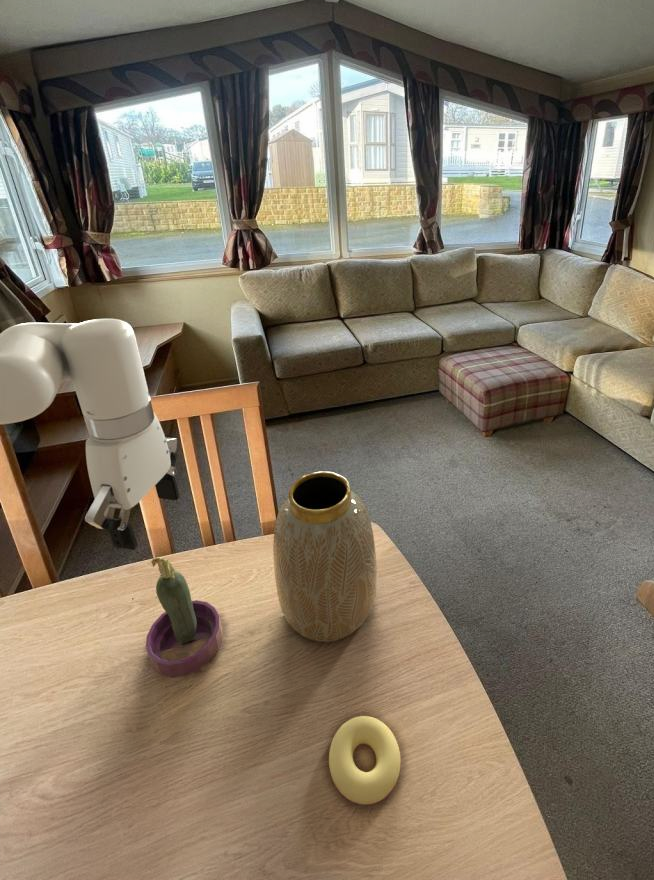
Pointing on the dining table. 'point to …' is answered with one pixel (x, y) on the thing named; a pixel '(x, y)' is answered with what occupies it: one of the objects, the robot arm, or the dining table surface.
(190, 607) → the vegetable
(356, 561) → the vase
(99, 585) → the dining table surface
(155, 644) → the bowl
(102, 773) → the dining table surface
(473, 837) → the dining table surface
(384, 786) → the donut
